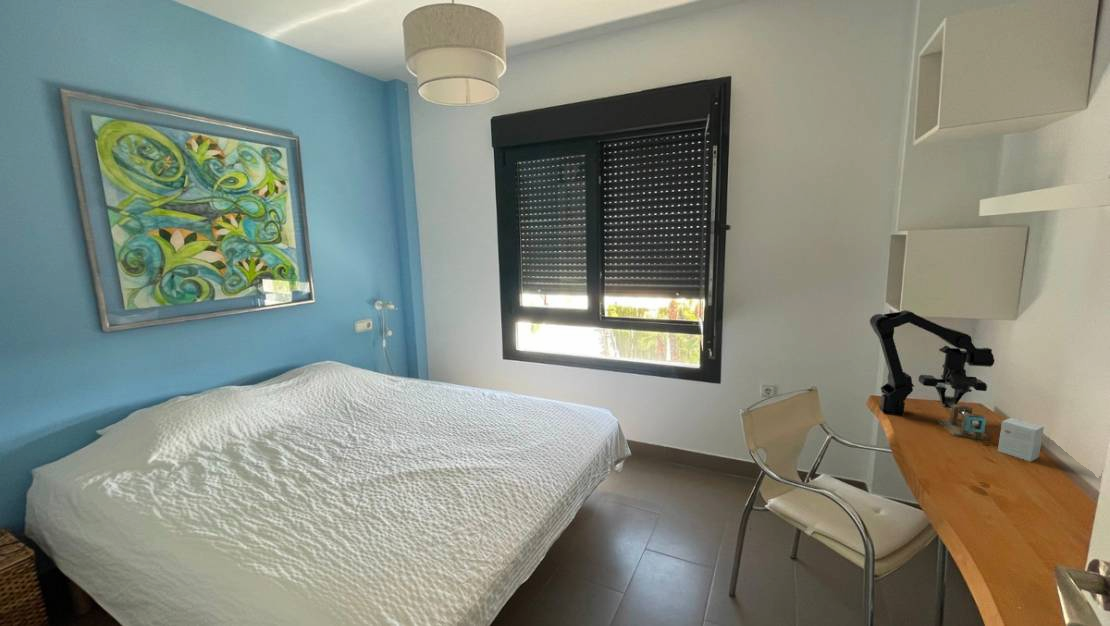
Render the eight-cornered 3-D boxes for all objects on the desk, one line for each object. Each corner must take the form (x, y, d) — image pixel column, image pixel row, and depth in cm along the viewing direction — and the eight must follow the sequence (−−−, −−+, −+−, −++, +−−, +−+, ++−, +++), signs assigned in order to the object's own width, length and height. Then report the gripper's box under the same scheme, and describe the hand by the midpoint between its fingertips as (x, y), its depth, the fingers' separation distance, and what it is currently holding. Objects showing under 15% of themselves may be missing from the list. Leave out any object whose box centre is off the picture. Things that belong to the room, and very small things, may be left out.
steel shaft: (969, 428, 151) (970, 417, 151) (942, 405, 170) (943, 395, 170) (981, 429, 150) (982, 418, 150) (953, 406, 169) (954, 396, 168)
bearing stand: (953, 436, 154) (956, 414, 153) (937, 421, 166) (940, 400, 165) (990, 440, 151) (994, 418, 149) (971, 424, 163) (974, 403, 161)
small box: (1039, 458, 139) (1045, 426, 137) (1030, 462, 137) (1037, 430, 135) (1004, 447, 146) (1010, 417, 144) (996, 451, 144) (1002, 420, 142)
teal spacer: (965, 430, 152) (967, 416, 151) (963, 429, 153) (965, 415, 152) (984, 432, 150) (986, 418, 149) (982, 431, 151) (984, 417, 150)
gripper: (932, 368, 162) (926, 408, 165) (998, 373, 156) (991, 415, 158) (920, 360, 173) (915, 398, 175) (982, 364, 166) (975, 404, 169)
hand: (948, 404), depth 169 cm, fingers closed on steel shaft, 3 cm apart
